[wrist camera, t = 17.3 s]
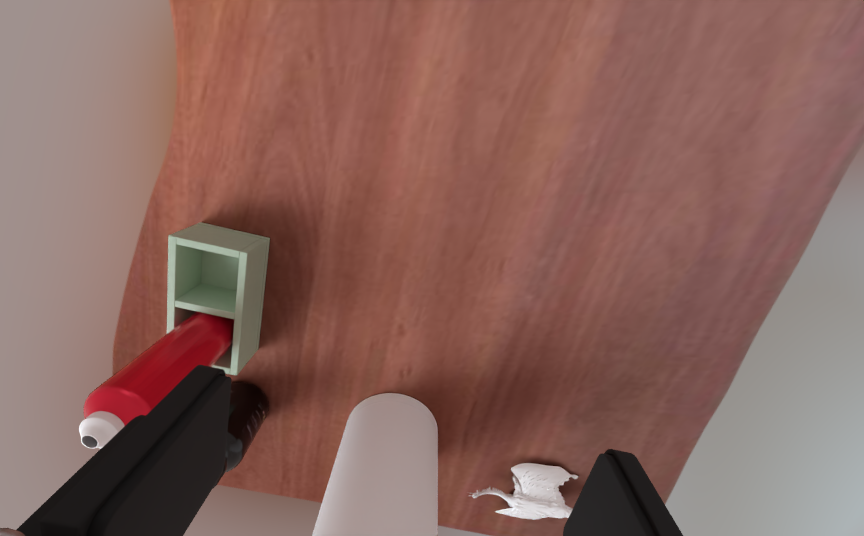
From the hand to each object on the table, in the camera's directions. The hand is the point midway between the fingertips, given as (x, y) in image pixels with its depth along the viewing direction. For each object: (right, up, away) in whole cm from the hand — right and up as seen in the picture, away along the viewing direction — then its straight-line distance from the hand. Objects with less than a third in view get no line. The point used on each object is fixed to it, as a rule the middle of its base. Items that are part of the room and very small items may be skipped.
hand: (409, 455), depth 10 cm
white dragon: (+14, -27, +48) cm, 57 cm away
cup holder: (-24, +2, +38) cm, 45 cm away
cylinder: (-5, -18, +45) cm, 49 cm away
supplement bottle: (-24, -13, +44) cm, 52 cm away
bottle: (-24, -1, +38) cm, 46 cm away
